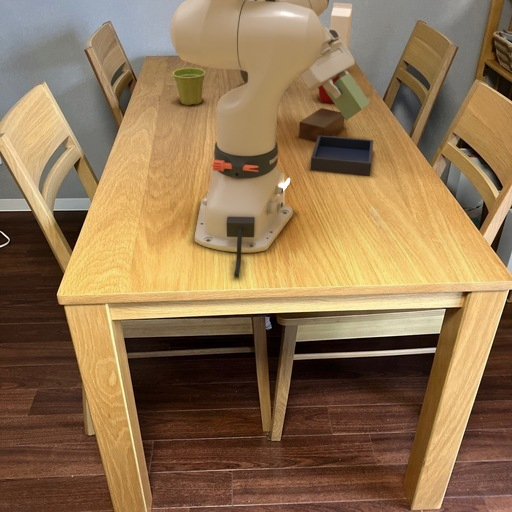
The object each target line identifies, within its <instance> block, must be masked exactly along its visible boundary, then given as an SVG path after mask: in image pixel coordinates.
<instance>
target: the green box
mask: <svg viewBox="0 0 512 512" xmlns="http://www.w3.org/2000/svg"><path fill="white" fill-rule="evenodd" d="M333 84H334V85H335V86H336V87H337V89H338V88H340V90H341V91H342V93H343V94H342V95H341V96H340V97H338V98H337V99H335V98H334V96H333V95H332V93H330V92H328V91H327V90H325V91H326V92H327V94H328V95H329V96H330V98H331V99H332V101H333V102H334V103H333V104H334V105H335V106H336V108H337V109H338V112H341V114H342V115H343V116H344V118H345V119H344V120H345V121H348V120H350V119H352V118H353V117H354V116H356V115H357V114H358V113H359V112H361V111H362V110H364V109H365V108H366V107H367V106H368V105H370V104H371V101H370V100H369V99H368V97H367V96H366V94H365V93H364V91H363V90H362V89H361V87H360V86H359V84H358V82H356V80H355V79H354V77H353V75H351V73H350V72H349V73H348V74H346V75H344V76H343V77H341V78H339V79H338V80H337V81H336V82H334V83H333Z"/></svg>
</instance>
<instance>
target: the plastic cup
mask: <svg viewBox="0 0 512 512" xmlns="http://www.w3.org/2000/svg"><path fill="white" fill-rule="evenodd" d="M338 79H339V76H337V77H336V78H334V79H332V81H333V83H334V82H336V81H337V80H338ZM317 90H318V98H319V101H320V102H321V103H326V104H334V102H333V101H332V99H331V98H330V96H329V95H328V94H327V92H326V91H325V90H326V89H324V87H323V86H320V87H318V88H317Z"/></svg>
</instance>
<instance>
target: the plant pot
mask: <svg viewBox="0 0 512 512" xmlns="http://www.w3.org/2000/svg"><path fill="white" fill-rule="evenodd" d="M205 75H206V71H205V70H204V69H202V68H198V67H183V68H179V69H176V70H173V71H172V76H173V77H174V81H175V82H176V86H177V92H178V96H179V100H180V101H179V102H180V103H181V104H182V105H185V106H191V105H199V104H201V103H202V99H203V87H204V86H203V85H204V80H205Z"/></svg>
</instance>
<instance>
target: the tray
mask: <svg viewBox="0 0 512 512" xmlns="http://www.w3.org/2000/svg"><path fill="white" fill-rule="evenodd" d="M373 149H374V139H366V138H355V137H346V136H345V137H344V136H335V135H334V136H322V135H318V138H317V141H316V142H315V144H314V148H313V151H312V154H311V157H310V169H309V170H310V171H316V172H325V173H334V174H335V173H337V174H345V175H355V176H356V175H357V176H366V177H370V175H371V168H372V160H373Z"/></svg>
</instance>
